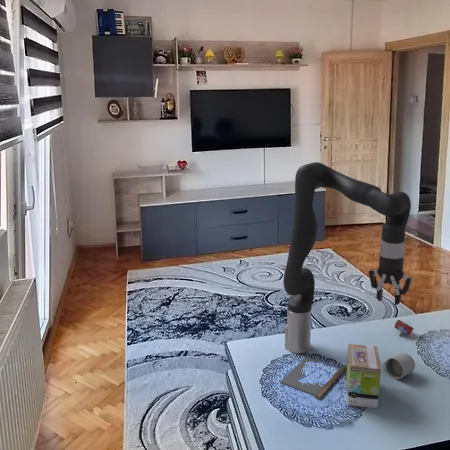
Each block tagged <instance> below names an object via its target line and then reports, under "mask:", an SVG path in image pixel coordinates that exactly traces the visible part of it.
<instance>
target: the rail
mask: <svg viewBox="0 0 450 450" xmlns="http://www.w3.org/2000/svg"><path fill="white" fill-rule="evenodd" d="M339 368H340V369H339V370H338V371H337V372H336V373H335V374H334V375H333V376H332V378H331V379H330V380H329V381H328V382H327V383H326V384H325V385H324V386H323V388H322V389H321V390H320V391H319V392H318V393H317V394H316V395H315V396H314V397H315V399H317V400H320V399H322V397H323V396H324V395H325V394H326V393H327V391H328V390H329V389H330V388H331V387H332V386H333V385H334V384H333V382H334V381H335V380H336V379H337V378H338V377H339V376H340V375H341V376H342V374H343V373H344V372H345V371H346V370H347V366H344V365H342V366H341V367H339ZM345 369H346V370H345ZM344 370H345V371H344ZM343 371H344V372H343ZM342 372H343V373H342ZM341 373H342V374H341ZM341 376H340V377H341ZM340 377H339V378H340ZM339 378H338V379H339ZM338 379H337V380H338ZM337 380H336V381H337ZM336 381H335V382H336ZM335 382H334V383H335ZM332 384H333V385H332ZM331 385H332V386H331ZM330 386H331V387H330ZM329 387H330V388H329ZM328 388H329V389H328ZM327 389H328V390H327ZM326 390H327V391H326ZM325 392H326V393H325ZM324 393H325V394H324Z"/></svg>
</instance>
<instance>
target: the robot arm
mask: <svg viewBox="0 0 450 450" xmlns="http://www.w3.org/2000/svg"><path fill="white" fill-rule="evenodd" d="M294 180H295V182H294V207H293V216H292V224H291V232H290V241H289V250H288V256H287V262H286V265H285V269H284V273H283V274H284V275H283V278H282V279H283V288H284V291H285V292H286V293H287V294H288V295H289V296H292V297H290V298H289V299H288V301H287V307H286V308H287V313H286V316H287V317H286V318H287V319H286V320H287V322H286V323H287V324H286V325H285V326H284V331H285V332H284V348H285V349H287V351H290V353H293V354H306V353H307V352H309V351H311V329H312V322H311V321H312V306H313V303H314V299H315V287H316V286H315V284H316V283H315V276H314V274H313V272H312V270H310V268H307V267H303V265H304V263H305V261H306V259H307V258H308V256H309V254H310V253H311V251H312V249H313V248H314V246H315V243H316V239H317V234H318V233H317V232H318V220H317V217H316V213H315V212H314V211H315V210H314V204H313V203H314V195H315V191H316V190H317V189H320V188H328V189H333V190H335V191H338V192H340V193H341V194H342V195H343V196H344V197H345V198H347V199H349V200H351V201H352V202H355V203H358V204H359V205H363V206H366V207H369V208H370V209H372V210H373V211H376V212H377V213H379V214H380V215H383V216H385V217H387V219H386V220H385V222H383V225H382V227H381V238H380V245H379V258H378V268H377V269H375V268H371V269H370V270H369V271H368V275H369V281H370V285H371V288H372V289H376V300H377V301H378V302H382V300H383V295H384V294H383V293H384V292H383V291H384V290H383V288H384V285H385V284H389V285H391V286H392V287H393V289H394V291H395V295H394V304H393V305H394V306H398V305H399V304H400V303H401V300H402V299H401V298H402V295H403V296H405V295H406V294H407V293H408V291H409V289H410V286H411V283H412V281H413V277H412V276H410V275H409V276H407V275H405V273H404V261H405V260H404V259H405V251H406V250H405V238H406V226H407V224H408V220H409V216H410V213H411V208H412V201H411V199H410V196H409V195H408V194H407V193H406V192H404V191H395V192H393V193H390V194H389V193H387V192H383V191H382V189H381V188H380V187H378V186H376V185H374V184H371V183H368V182H366V181H362V180H358V179H356V178H353V177H350V176H347V175H345V174H343V173H341V172H339V171H337V170H335V169H333V168H331V167H329V166H328V165H327V164H324V163H322V162H316V161H315V162H310V163H307V164H304V165H301V166H299V167H298V169H297V170H296V173H295V178H294ZM377 275H378V276H379V278H380V280H379V282H378V281H377V280H378V279H377ZM402 279H403V283H404V286H403V287H401V280H402Z"/></svg>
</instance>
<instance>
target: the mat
mask: <svg viewBox="0 0 450 450" xmlns="http://www.w3.org/2000/svg"><path fill="white" fill-rule="evenodd" d="M306 361H307V363H308V362H309V361H310V362H311V361H316V363H317V361H319V360H316V359H314V358H310V357H308V356H306V357H304V359H302V361H300V362H299V363H298V364H297V365H296V366H295V367H294V368H293V369H292V370H291V371H290V372H288V373H287V375H285V376H284V377H283V378H282V380H279V383H280V384H282V385H285V386H288V387H290V388H293V389H296V390H298V391H301V392H304V393H306V394H309V395H311V396H313V397H315V395H316V394H317V393H318V392H319V391H320V390H321V389H322V388H323V387H321V386H320V385H321V383H320V385H319V383H317V384H316V383H315V385H313V384H314V383H313V384H310V383H308V385H307V383H306V384H305V383H304V384H303V383H301V382H299V381H298V380H300V379H302V378H301V377H303V376H304V377H305V375H306V374H305V373H304V372H305V370H304V372H303V374H302V371H303V369H302V368H303V366H305V363H306ZM319 362H322V361H319ZM322 363H324V362H322ZM330 365H331V366H333V365H332V364H330ZM336 367H337V366H336ZM337 368H339V367H337ZM301 369H302V370H301ZM304 374H305V375H304ZM302 384H303V385H302ZM323 385H324V384H322V386H323Z"/></svg>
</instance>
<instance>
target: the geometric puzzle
mask: <svg viewBox="0 0 450 450" xmlns="http://www.w3.org/2000/svg"><path fill="white" fill-rule="evenodd" d="M410 324H411V322H409V324H408V322H405V321H402V320H401V319H398V320H396V321H395V322H394V327H393V328H394V329H395V330H397V334H398V336H399V337H402V336H403V335H405V336H407V337H410V336H411V334H412V333H413V331H414V329H415V327H413V326H412V325H410ZM400 333H401V334H402V333H403V335H401V334H400Z"/></svg>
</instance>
